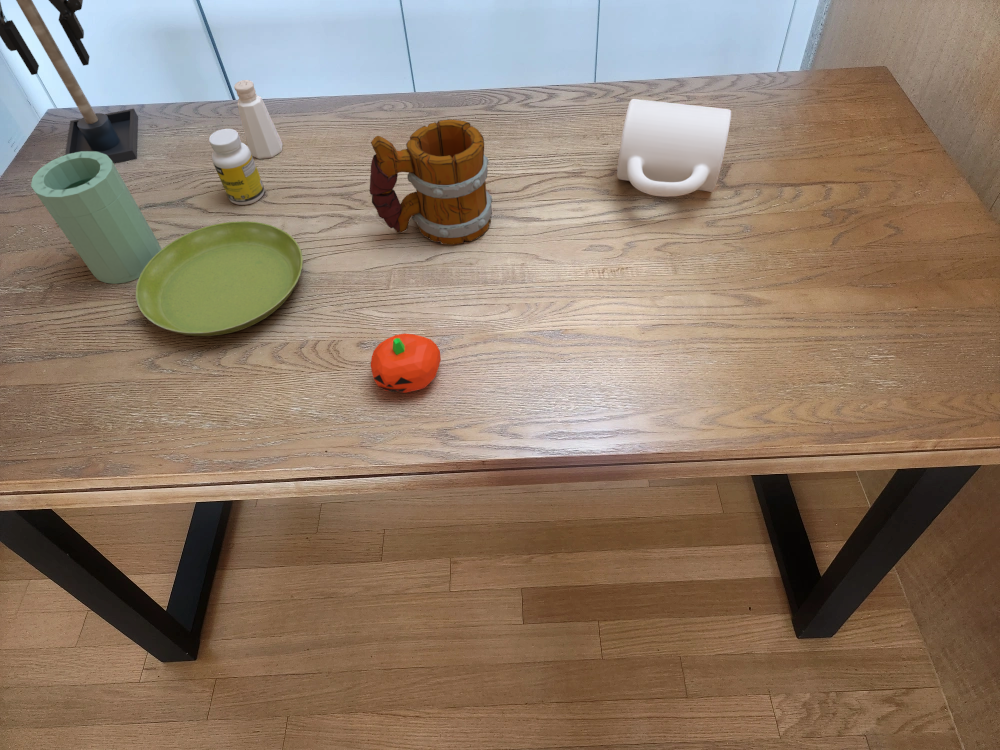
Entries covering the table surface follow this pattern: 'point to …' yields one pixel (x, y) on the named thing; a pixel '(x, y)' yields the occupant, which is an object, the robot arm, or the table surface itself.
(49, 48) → the wooden handled plunger
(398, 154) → the mug
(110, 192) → the jar
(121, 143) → the tray
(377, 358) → the pumpkin
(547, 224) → the table surface
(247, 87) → the salt shaker
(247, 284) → the saucer
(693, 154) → the mug
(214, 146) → the supplement bottle
